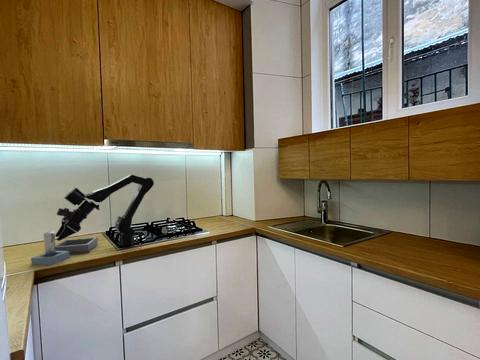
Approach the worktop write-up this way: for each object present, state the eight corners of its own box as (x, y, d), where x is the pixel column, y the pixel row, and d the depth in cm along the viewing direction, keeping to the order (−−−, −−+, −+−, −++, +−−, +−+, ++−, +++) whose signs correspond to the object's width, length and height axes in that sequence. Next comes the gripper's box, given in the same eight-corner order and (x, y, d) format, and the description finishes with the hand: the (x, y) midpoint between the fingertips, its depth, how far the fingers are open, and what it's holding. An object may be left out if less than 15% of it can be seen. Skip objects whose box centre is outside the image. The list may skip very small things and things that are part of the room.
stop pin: (58, 259, 122) (56, 231, 122) (51, 262, 118) (49, 233, 118) (51, 259, 123) (49, 231, 122) (43, 262, 119) (41, 233, 118)
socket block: (69, 257, 125) (69, 251, 125) (51, 265, 115) (50, 258, 115) (51, 256, 127) (50, 250, 126) (31, 264, 117) (31, 257, 117)
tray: (98, 244, 145) (97, 237, 145) (88, 252, 131) (88, 244, 131) (65, 247, 142) (65, 239, 142) (52, 255, 128) (52, 247, 128)
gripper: (65, 199, 132) (39, 225, 125) (70, 202, 117) (41, 231, 111) (84, 213, 137) (60, 238, 131) (91, 217, 122) (64, 246, 116)
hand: (56, 238), depth 122 cm, fingers open, 9 cm apart
